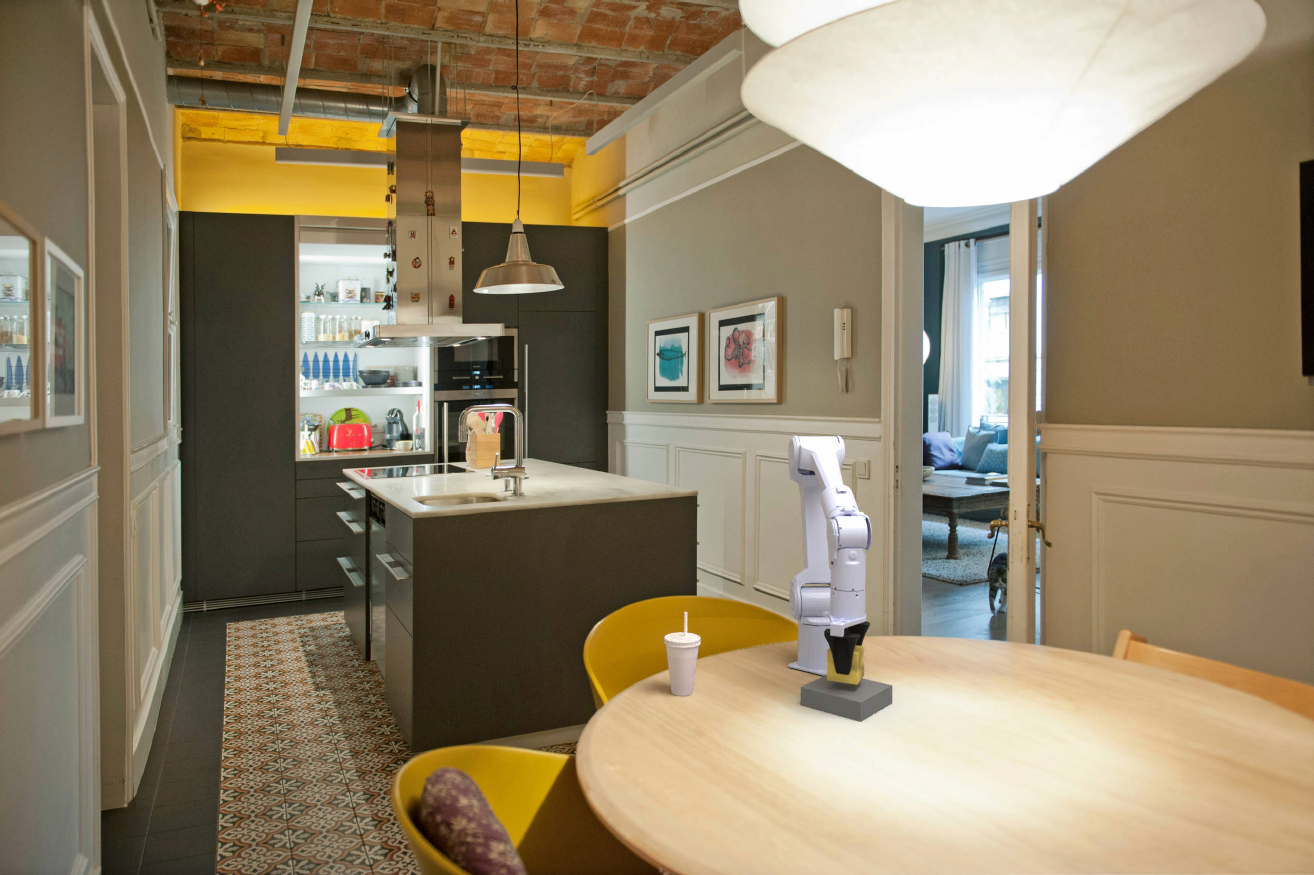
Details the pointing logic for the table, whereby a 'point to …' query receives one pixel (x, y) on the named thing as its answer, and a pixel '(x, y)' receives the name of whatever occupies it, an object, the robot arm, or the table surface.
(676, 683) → the smoothie
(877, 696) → the base block
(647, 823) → the table surface
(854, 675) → the mustard cube
